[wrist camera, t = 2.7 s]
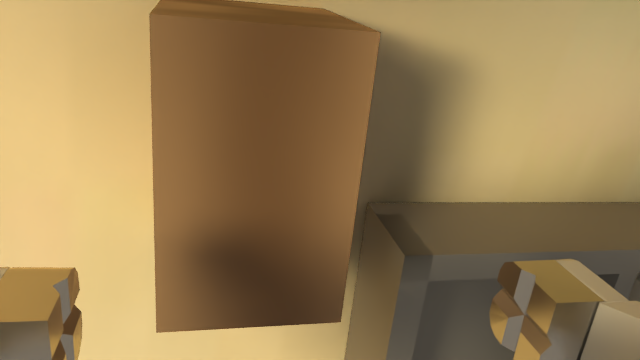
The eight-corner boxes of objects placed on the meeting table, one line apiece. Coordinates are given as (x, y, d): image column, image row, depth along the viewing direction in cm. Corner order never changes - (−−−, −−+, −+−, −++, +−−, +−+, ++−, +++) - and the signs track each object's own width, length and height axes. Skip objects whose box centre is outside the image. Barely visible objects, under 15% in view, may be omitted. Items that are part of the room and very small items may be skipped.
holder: (333, 432, 25) (357, 512, 21) (367, 202, 20) (404, 255, 17) (646, 398, 29) (710, 460, 25) (731, 202, 25) (823, 244, 21)
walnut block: (167, 226, 19) (156, 332, 14) (164, -6, 16) (149, 13, 11) (302, 224, 20) (340, 321, 15) (322, 8, 17) (380, 32, 12)
